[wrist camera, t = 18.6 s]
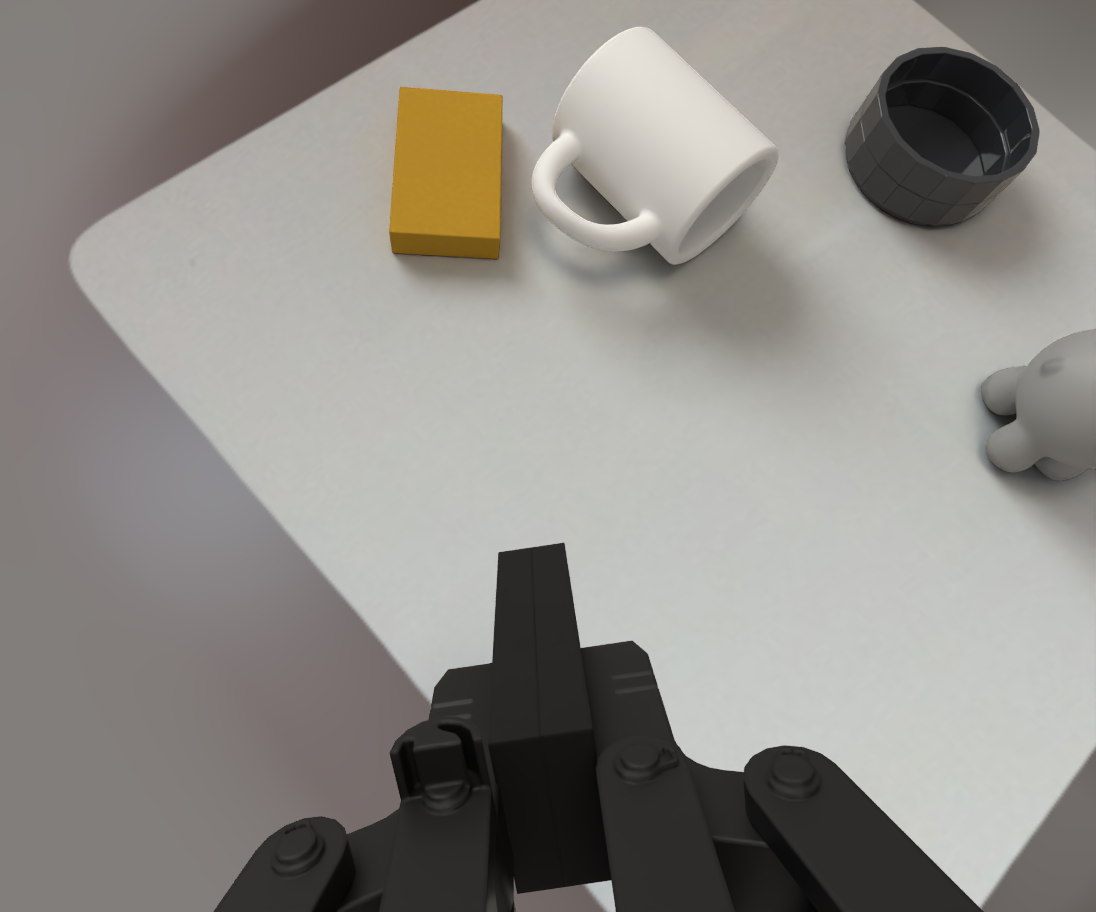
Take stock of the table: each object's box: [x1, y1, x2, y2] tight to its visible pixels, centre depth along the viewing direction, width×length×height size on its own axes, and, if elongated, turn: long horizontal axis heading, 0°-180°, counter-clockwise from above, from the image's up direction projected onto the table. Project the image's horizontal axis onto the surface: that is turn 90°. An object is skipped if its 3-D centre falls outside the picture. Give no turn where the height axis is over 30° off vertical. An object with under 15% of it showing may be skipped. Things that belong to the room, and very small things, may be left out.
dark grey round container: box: [845, 47, 1040, 226], centre depth 47 cm, size 10×10×4 cm
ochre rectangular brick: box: [389, 87, 503, 259], centre depth 43 cm, size 6×10×2 cm, turn 0°
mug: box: [532, 27, 779, 265], centre depth 41 cm, size 12×10×8 cm
